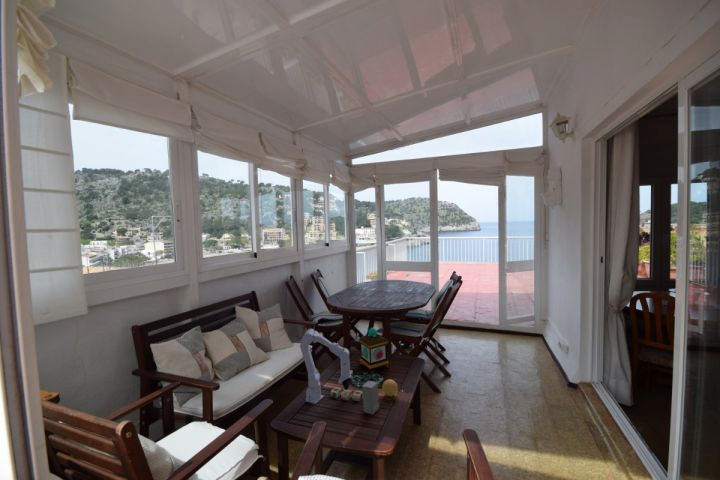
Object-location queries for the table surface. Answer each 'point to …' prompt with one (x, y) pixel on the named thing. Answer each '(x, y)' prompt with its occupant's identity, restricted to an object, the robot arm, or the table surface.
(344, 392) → the plain block
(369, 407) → the skincare box
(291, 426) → the table surface
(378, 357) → the decorative lantern
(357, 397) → the marked block
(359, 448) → the table surface
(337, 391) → the marked block
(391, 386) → the stress ball
